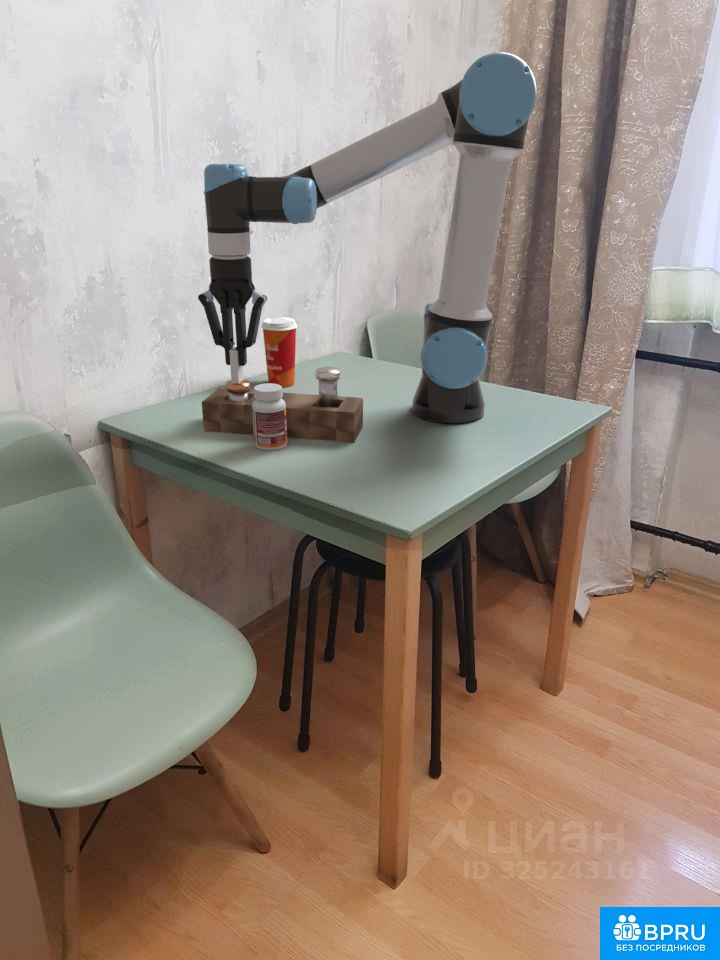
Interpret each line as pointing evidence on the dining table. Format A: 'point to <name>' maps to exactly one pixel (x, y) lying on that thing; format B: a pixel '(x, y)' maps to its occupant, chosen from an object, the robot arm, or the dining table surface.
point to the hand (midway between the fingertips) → (237, 381)
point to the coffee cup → (280, 350)
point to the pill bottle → (269, 417)
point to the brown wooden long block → (287, 416)
